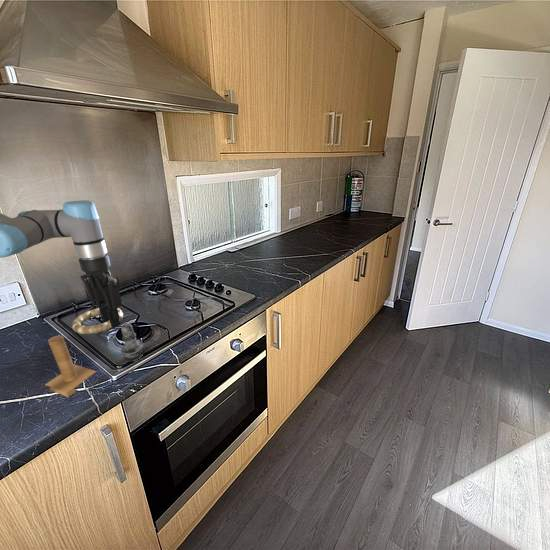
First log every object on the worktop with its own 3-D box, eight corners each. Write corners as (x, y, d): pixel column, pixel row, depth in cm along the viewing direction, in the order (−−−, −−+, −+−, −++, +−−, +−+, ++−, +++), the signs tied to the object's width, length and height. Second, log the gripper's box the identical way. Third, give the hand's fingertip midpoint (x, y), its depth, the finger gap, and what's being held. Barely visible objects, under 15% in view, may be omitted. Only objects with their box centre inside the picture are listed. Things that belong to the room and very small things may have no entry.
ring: (62, 330, 92) (60, 323, 91) (102, 308, 105) (100, 303, 104) (95, 339, 87) (93, 332, 86) (133, 315, 100) (131, 309, 99)
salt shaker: (138, 348, 88) (129, 314, 83) (150, 355, 85) (141, 320, 80) (119, 359, 83) (108, 323, 79) (130, 367, 80) (120, 330, 76)
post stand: (46, 389, 74) (27, 345, 68) (76, 368, 81) (60, 327, 75) (68, 397, 71) (49, 352, 66) (97, 375, 78) (82, 332, 72)
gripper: (124, 254, 85) (140, 323, 94) (86, 249, 90) (104, 315, 100) (101, 263, 79) (121, 336, 88) (62, 257, 84) (84, 326, 93)
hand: (112, 325), depth 94 cm, fingers closed on ring, 2 cm apart
